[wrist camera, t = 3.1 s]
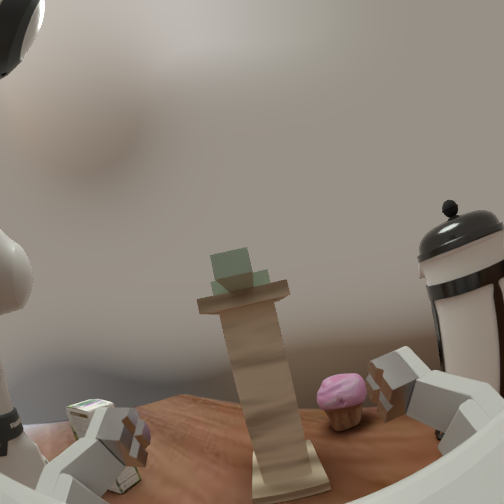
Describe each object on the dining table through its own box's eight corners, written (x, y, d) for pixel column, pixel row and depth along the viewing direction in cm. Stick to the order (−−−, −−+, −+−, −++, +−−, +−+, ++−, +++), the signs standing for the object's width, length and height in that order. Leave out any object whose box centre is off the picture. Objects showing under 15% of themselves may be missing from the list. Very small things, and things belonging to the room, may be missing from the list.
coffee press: (445, 471, 15) (405, 194, 21) (426, 414, 29) (392, 229, 36) (559, 408, 8) (525, 156, 15) (514, 376, 23) (482, 198, 29)
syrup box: (117, 473, 28) (88, 397, 31) (143, 479, 27) (113, 400, 30) (96, 486, 23) (62, 405, 26) (123, 495, 22) (86, 409, 25)
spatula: (280, 264, 17) (274, 241, 17) (187, 285, 17) (183, 261, 17) (266, 292, 37) (264, 281, 38) (224, 301, 37) (222, 290, 38)
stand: (331, 489, 20) (286, 279, 26) (254, 506, 20) (196, 299, 26) (311, 446, 33) (276, 290, 39) (255, 458, 33) (215, 304, 39)
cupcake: (322, 420, 42) (313, 374, 44) (367, 408, 41) (359, 362, 43) (323, 441, 34) (312, 389, 36) (376, 428, 32) (368, 374, 34)
